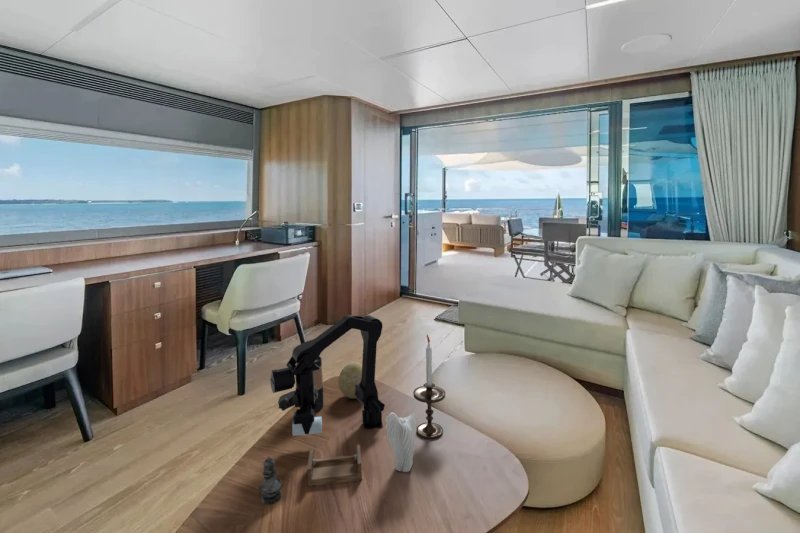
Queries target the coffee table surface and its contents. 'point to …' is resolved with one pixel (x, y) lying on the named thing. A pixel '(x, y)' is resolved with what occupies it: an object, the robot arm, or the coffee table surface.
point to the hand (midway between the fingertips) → (307, 429)
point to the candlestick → (429, 400)
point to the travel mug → (318, 384)
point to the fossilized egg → (350, 379)
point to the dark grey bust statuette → (270, 483)
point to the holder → (334, 469)
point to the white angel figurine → (402, 439)
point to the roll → (315, 428)
